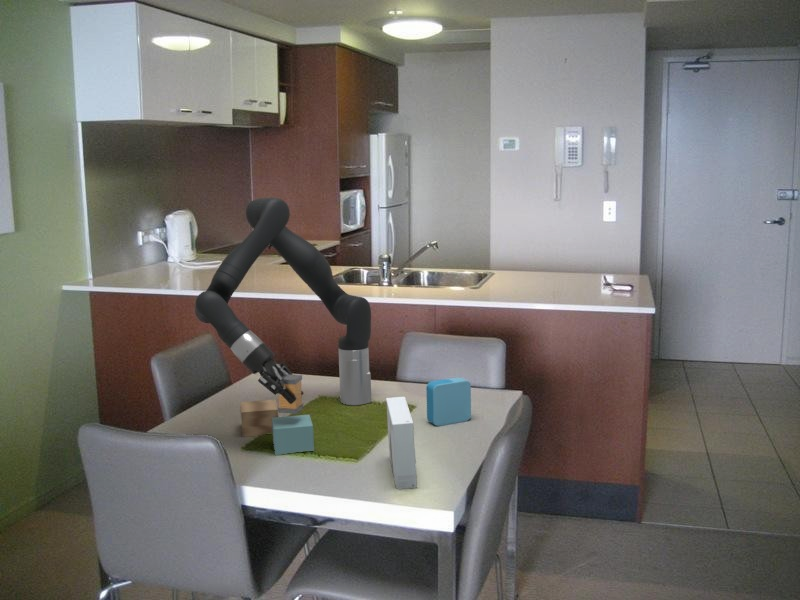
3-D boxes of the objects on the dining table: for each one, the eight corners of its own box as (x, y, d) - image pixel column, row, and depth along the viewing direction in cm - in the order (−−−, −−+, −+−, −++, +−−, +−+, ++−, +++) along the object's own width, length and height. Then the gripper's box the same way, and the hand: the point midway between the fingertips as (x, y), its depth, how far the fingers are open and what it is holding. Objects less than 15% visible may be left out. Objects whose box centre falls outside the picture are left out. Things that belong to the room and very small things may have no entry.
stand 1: (277, 422, 246) (275, 399, 244) (279, 433, 236) (277, 409, 235) (241, 425, 244) (240, 402, 242) (242, 437, 234) (240, 412, 233)
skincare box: (387, 457, 216) (385, 397, 213) (408, 456, 216) (407, 395, 213) (393, 490, 195) (392, 423, 192) (417, 488, 195) (416, 422, 193)
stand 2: (310, 439, 231) (309, 414, 229) (314, 451, 221) (313, 425, 220) (273, 442, 229) (271, 417, 228) (275, 455, 219) (273, 429, 218)
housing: (285, 407, 226) (284, 374, 225) (303, 408, 225) (302, 375, 223) (278, 412, 221) (276, 379, 220) (296, 413, 220) (295, 379, 219)
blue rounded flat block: (463, 416, 248) (463, 376, 246) (471, 420, 244) (471, 379, 242) (426, 422, 243) (425, 381, 241) (434, 427, 239) (433, 385, 237)
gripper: (250, 348, 215) (297, 397, 214) (271, 336, 229) (316, 382, 228) (231, 368, 217) (278, 416, 216) (254, 355, 231) (298, 400, 230)
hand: (297, 398), depth 222 cm, fingers closed on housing, 4 cm apart
